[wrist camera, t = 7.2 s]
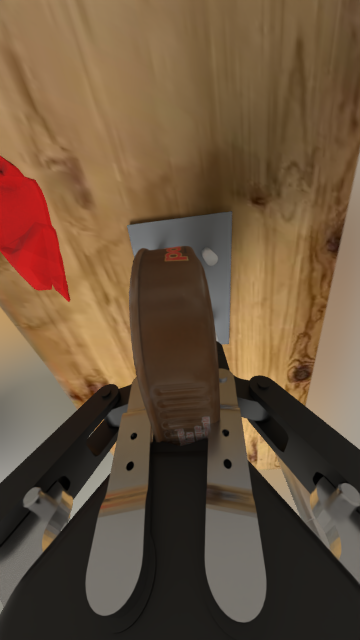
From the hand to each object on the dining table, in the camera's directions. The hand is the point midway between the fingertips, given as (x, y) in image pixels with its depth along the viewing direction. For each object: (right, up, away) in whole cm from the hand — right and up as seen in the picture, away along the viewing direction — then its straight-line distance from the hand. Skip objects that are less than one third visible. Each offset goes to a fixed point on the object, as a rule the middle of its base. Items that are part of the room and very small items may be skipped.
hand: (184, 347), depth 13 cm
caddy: (+1, +6, +11) cm, 13 cm away
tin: (0, +1, +1) cm, 1 cm away
